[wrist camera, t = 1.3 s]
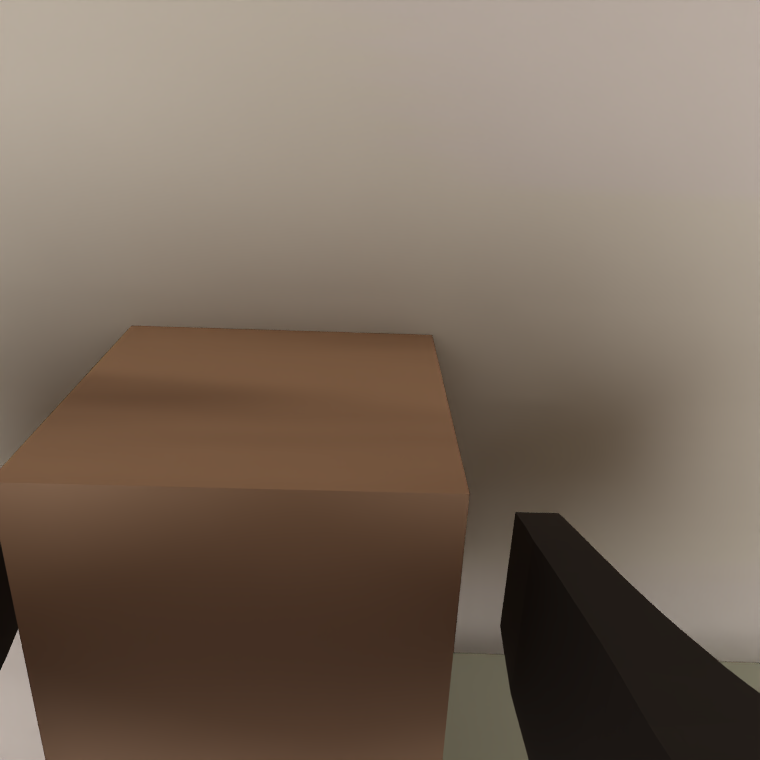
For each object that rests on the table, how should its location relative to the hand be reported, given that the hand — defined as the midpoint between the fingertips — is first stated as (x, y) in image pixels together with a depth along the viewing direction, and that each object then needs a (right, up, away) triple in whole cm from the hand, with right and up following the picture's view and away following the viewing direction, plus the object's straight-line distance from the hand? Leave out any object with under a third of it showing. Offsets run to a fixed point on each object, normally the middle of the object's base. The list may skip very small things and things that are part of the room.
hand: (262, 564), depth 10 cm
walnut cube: (0, +1, +3) cm, 3 cm away
